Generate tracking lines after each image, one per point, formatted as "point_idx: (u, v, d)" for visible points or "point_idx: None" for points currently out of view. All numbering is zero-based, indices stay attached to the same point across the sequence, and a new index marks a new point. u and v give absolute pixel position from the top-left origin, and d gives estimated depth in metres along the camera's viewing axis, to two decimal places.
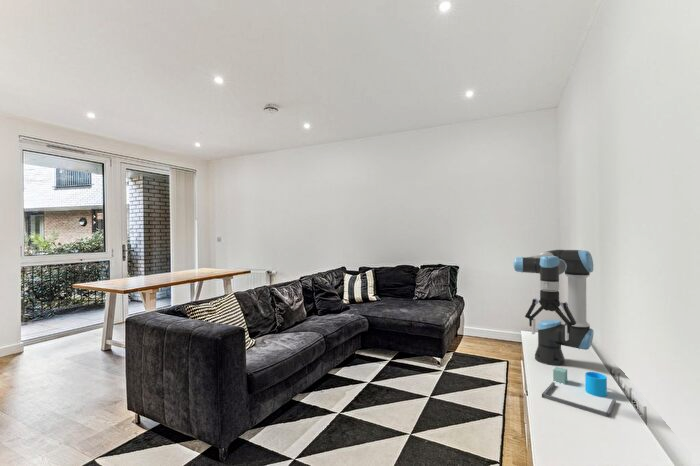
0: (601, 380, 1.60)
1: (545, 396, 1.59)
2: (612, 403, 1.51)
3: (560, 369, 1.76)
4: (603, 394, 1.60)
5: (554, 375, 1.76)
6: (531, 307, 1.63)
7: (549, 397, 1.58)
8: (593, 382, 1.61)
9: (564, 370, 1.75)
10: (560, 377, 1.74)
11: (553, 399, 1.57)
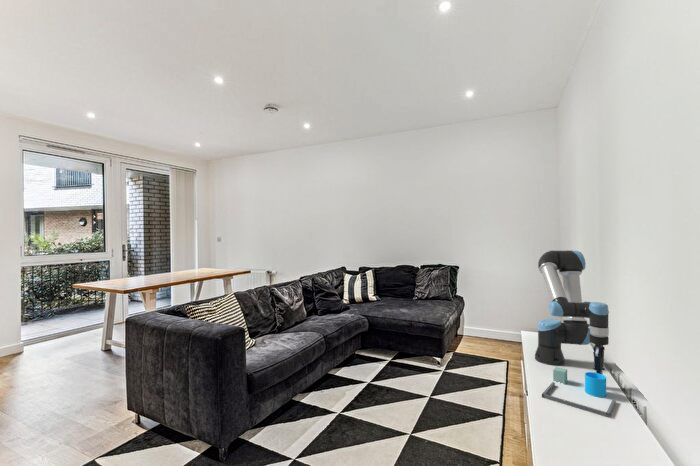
0: (600, 380, 1.59)
1: (545, 396, 1.59)
2: (612, 403, 1.51)
3: (560, 369, 1.76)
4: (602, 394, 1.59)
5: (554, 375, 1.76)
6: None
7: (549, 397, 1.58)
8: (592, 382, 1.61)
9: (564, 370, 1.75)
10: (560, 377, 1.74)
11: (553, 399, 1.57)
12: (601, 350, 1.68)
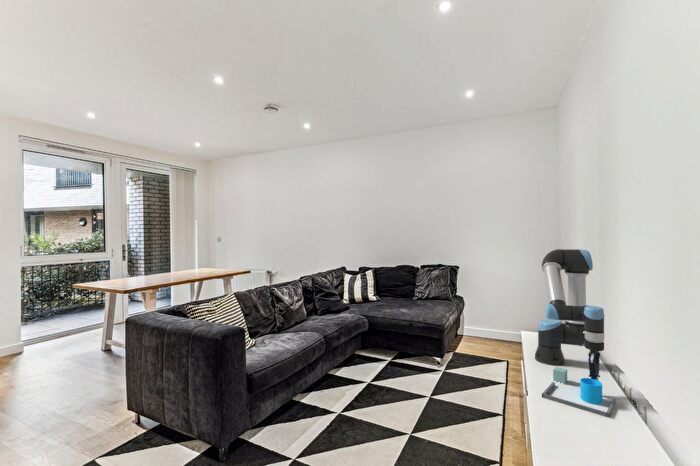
0: (598, 387, 1.53)
1: (545, 396, 1.59)
2: (612, 403, 1.51)
3: (560, 369, 1.76)
4: (599, 401, 1.53)
5: (554, 375, 1.76)
6: None
7: (549, 397, 1.58)
8: (589, 389, 1.54)
9: (564, 370, 1.75)
10: (560, 377, 1.74)
11: (553, 399, 1.57)
12: (596, 356, 1.60)
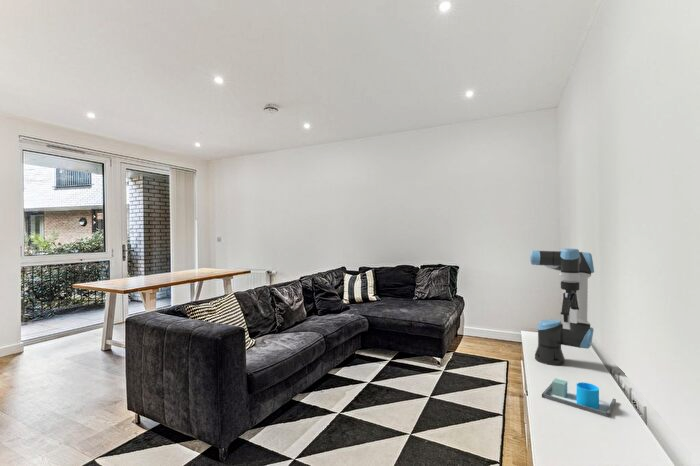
0: (594, 392, 1.49)
1: (545, 396, 1.59)
2: (612, 403, 1.51)
3: (558, 381, 1.63)
4: (596, 407, 1.49)
5: None
6: None
7: (549, 397, 1.58)
8: (585, 394, 1.50)
9: (558, 382, 1.61)
10: None
11: (553, 399, 1.57)
12: (572, 295, 1.64)
